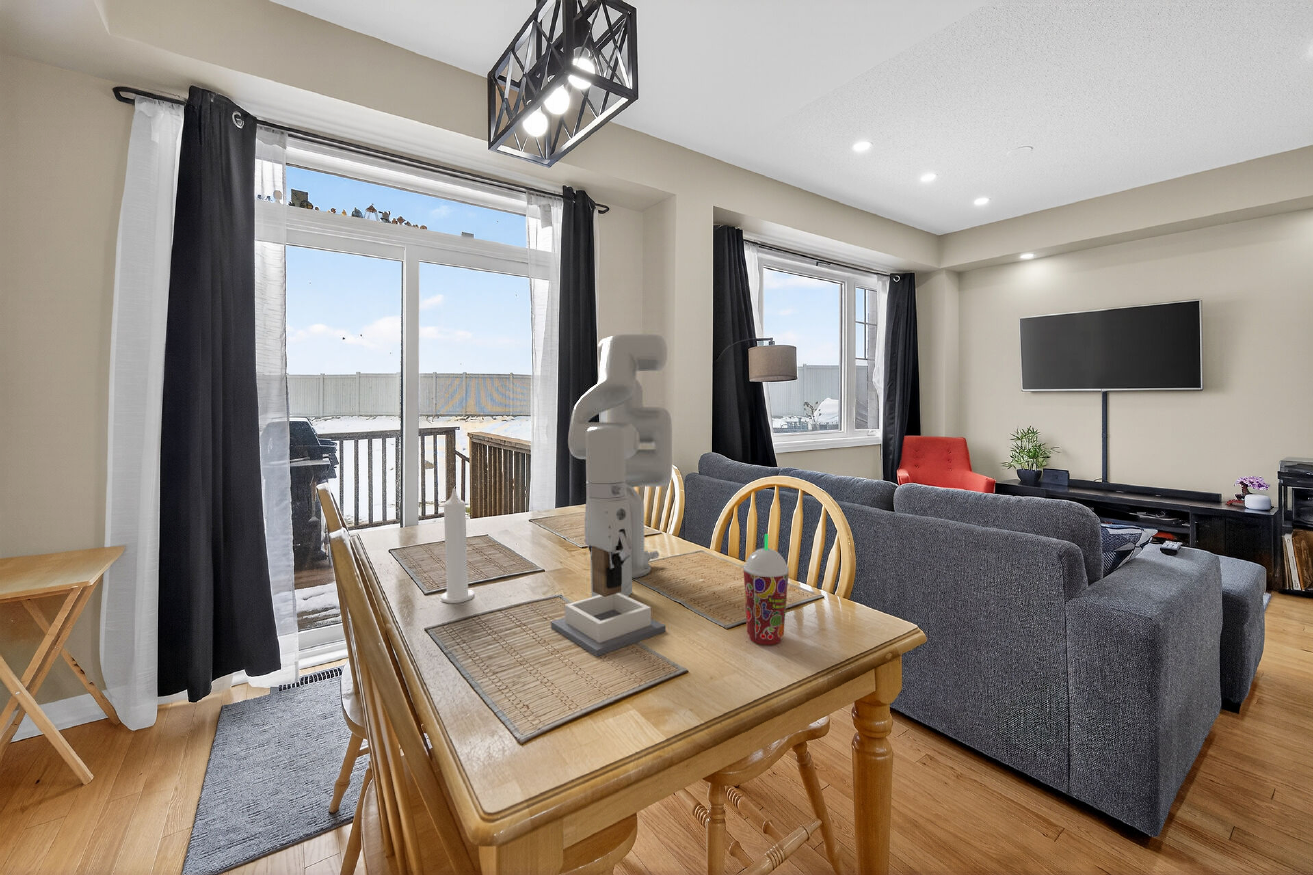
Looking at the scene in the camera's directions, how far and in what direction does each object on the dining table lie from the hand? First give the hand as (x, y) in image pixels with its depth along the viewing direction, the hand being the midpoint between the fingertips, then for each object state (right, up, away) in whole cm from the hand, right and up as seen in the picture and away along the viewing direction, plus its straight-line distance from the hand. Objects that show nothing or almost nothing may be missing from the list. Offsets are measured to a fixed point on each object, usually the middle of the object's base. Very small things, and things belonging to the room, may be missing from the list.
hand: (607, 582), depth 109 cm
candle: (-35, -8, +18) cm, 41 cm away
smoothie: (+30, -10, -4) cm, 32 cm away
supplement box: (-1, -8, +19) cm, 20 cm away
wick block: (0, -2, 0) cm, 2 cm away
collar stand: (0, -9, +1) cm, 9 cm away
